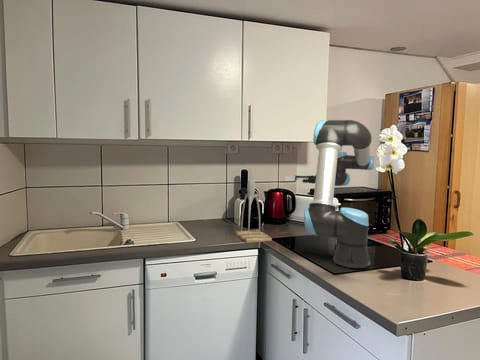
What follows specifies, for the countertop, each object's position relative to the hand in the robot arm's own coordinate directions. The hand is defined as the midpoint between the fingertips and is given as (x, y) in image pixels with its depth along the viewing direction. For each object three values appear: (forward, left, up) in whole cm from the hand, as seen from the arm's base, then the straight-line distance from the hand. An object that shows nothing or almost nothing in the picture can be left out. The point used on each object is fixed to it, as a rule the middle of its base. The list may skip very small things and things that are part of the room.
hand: (290, 179), depth 188 cm
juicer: (+4, +20, -30) cm, 36 cm away
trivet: (+4, +19, -31) cm, 37 cm away
